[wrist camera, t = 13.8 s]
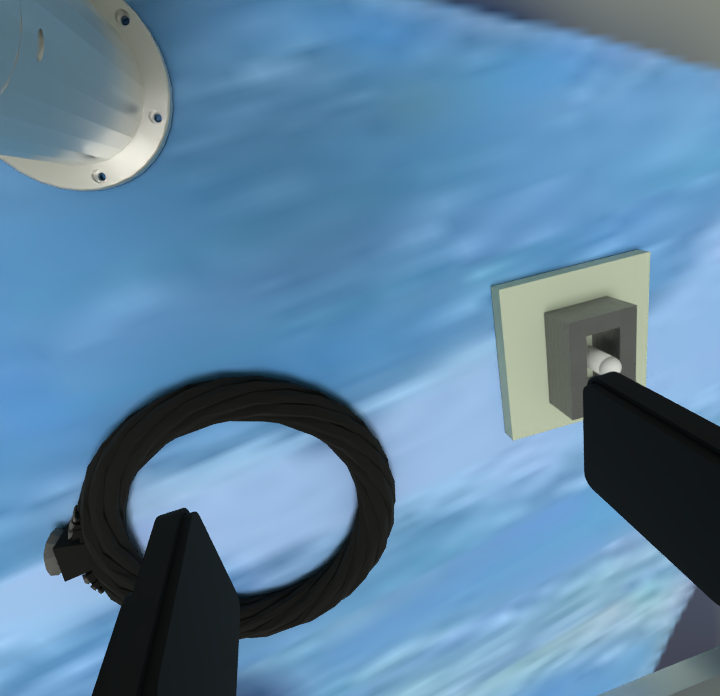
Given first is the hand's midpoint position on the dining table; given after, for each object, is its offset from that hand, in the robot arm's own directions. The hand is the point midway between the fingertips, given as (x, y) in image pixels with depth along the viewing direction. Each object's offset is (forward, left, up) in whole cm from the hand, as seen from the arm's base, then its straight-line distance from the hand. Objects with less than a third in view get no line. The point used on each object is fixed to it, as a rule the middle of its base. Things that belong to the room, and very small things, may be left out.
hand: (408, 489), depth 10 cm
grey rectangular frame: (+12, +21, -25) cm, 35 cm away
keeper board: (+12, +22, -27) cm, 36 cm away
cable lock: (+19, -12, -28) cm, 36 cm away
